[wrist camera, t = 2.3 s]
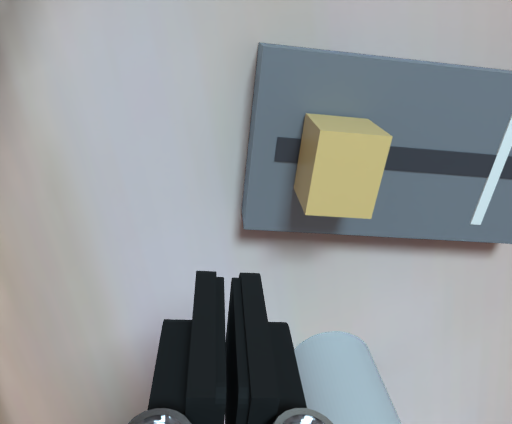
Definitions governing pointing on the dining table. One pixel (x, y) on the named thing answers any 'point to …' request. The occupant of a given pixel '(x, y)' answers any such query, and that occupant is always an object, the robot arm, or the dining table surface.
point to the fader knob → (340, 166)
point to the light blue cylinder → (343, 380)
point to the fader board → (401, 149)
